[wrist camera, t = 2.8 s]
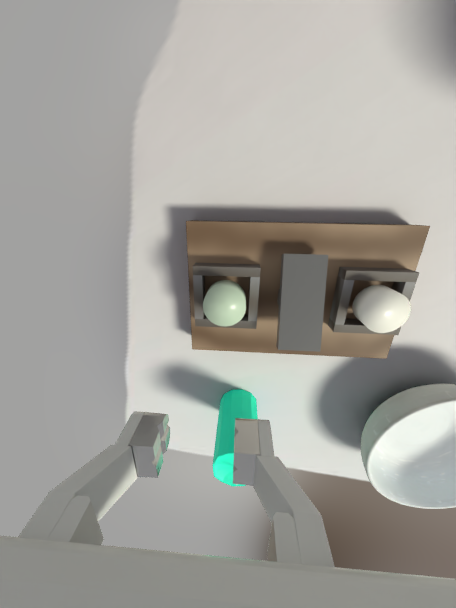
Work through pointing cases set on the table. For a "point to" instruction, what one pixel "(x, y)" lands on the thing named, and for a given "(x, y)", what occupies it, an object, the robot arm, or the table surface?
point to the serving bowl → (414, 447)
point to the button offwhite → (381, 308)
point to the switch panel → (267, 270)
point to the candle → (230, 431)
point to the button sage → (225, 303)
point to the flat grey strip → (301, 302)
